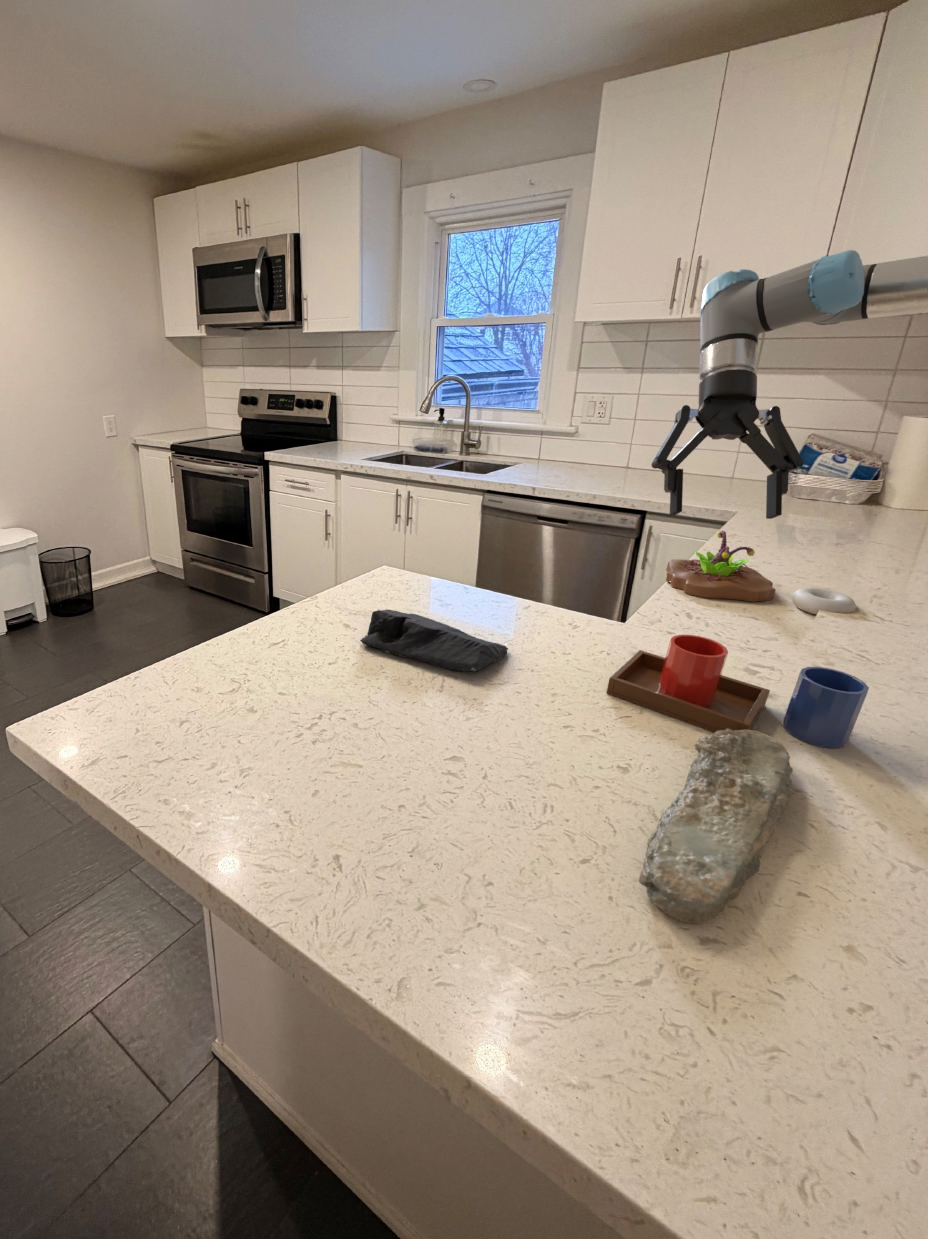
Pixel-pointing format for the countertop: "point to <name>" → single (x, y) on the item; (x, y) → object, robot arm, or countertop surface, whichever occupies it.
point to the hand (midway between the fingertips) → (724, 515)
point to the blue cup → (824, 707)
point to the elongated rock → (717, 824)
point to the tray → (730, 707)
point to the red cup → (693, 669)
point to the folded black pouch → (430, 641)
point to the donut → (822, 600)
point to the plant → (720, 576)
